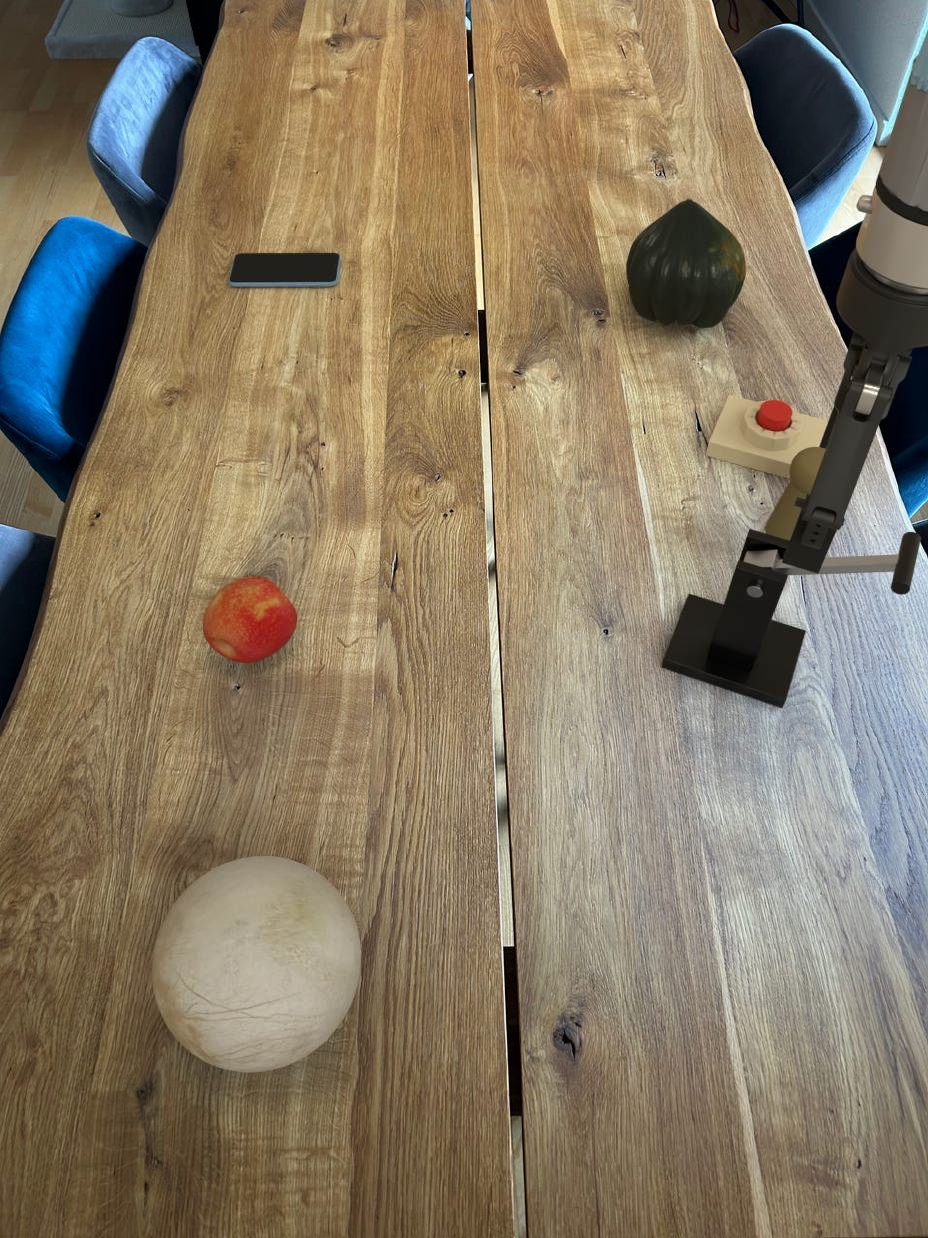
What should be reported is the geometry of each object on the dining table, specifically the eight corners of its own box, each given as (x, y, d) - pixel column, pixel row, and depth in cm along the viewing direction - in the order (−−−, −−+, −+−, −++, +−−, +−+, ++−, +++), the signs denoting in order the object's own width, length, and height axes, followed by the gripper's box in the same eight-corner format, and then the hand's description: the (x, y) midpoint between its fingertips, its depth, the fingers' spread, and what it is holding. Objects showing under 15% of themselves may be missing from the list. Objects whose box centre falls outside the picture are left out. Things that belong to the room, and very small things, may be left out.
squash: (709, 333, 123) (754, 207, 119) (596, 301, 128) (637, 179, 124) (727, 350, 136) (769, 237, 132) (625, 320, 141) (662, 210, 137)
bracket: (802, 639, 102) (846, 540, 90) (782, 708, 97) (825, 613, 85) (686, 602, 104) (713, 501, 93) (660, 667, 99) (686, 570, 88)
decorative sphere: (405, 1016, 79) (394, 948, 67) (233, 1138, 74) (188, 1089, 62) (309, 868, 87) (283, 784, 75) (147, 970, 82) (92, 897, 70)
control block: (824, 435, 120) (834, 408, 117) (808, 484, 115) (818, 458, 112) (725, 408, 123) (731, 381, 120) (705, 455, 118) (711, 429, 115)
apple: (313, 643, 101) (302, 593, 95) (246, 693, 98) (231, 645, 91) (263, 600, 105) (250, 548, 98) (197, 646, 101) (179, 596, 95)
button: (791, 416, 116) (795, 404, 115) (784, 435, 114) (788, 423, 113) (760, 407, 117) (764, 396, 116) (753, 427, 115) (756, 415, 114)
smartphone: (234, 251, 142) (341, 251, 142) (235, 257, 142) (341, 256, 142) (226, 282, 137) (337, 281, 137) (227, 288, 138) (337, 287, 138)
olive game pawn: (822, 517, 112) (851, 442, 103) (821, 557, 108) (851, 483, 99) (766, 508, 113) (791, 433, 104) (763, 547, 109) (789, 473, 100)
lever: (923, 547, 85) (918, 526, 84) (912, 598, 82) (907, 577, 80) (758, 555, 93) (751, 536, 92) (742, 602, 90) (735, 583, 89)
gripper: (886, 152, 70) (805, 394, 87) (811, 365, 56) (732, 604, 73) (1000, 175, 68) (894, 417, 85) (951, 400, 54) (837, 637, 71)
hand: (819, 504), depth 79 cm, fingers open, 13 cm apart
